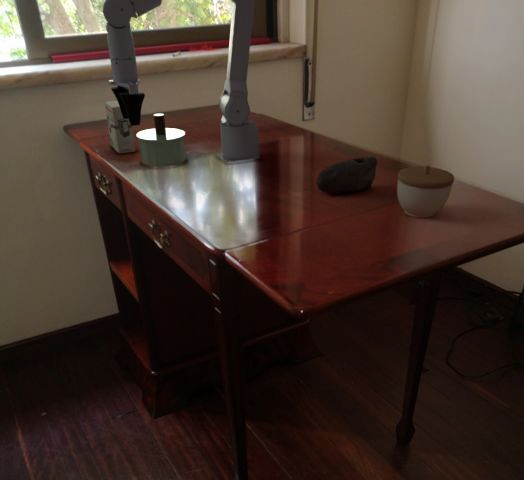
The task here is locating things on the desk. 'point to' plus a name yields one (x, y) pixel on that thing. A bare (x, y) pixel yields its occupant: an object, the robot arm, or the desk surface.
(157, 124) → the lid
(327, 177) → the perforated stone tool
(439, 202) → the trinket box
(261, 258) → the desk surface
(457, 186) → the desk surface
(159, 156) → the bowl
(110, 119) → the ink box
